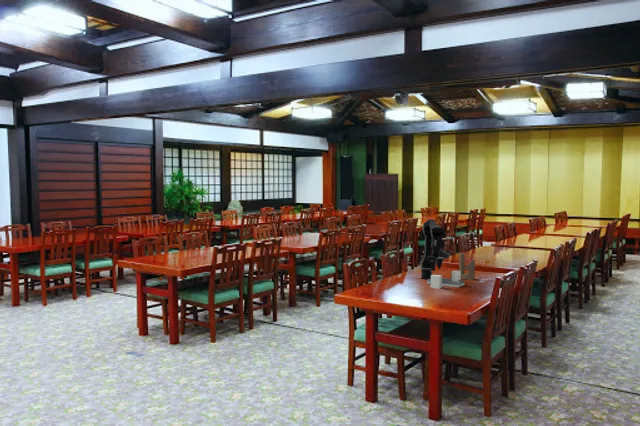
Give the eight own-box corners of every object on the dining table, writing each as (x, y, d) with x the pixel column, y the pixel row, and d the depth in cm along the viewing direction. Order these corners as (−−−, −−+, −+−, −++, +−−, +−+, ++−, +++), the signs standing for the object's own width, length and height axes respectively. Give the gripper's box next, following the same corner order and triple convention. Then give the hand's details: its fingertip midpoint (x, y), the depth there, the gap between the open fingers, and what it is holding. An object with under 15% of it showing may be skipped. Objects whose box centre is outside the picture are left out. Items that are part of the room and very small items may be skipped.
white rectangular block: (430, 287, 340) (430, 275, 340) (433, 286, 344) (433, 274, 344) (439, 288, 337) (439, 276, 336) (442, 287, 341) (442, 275, 340)
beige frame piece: (472, 280, 365) (473, 254, 364) (458, 278, 371) (458, 253, 370) (474, 279, 368) (475, 254, 367) (460, 277, 374) (460, 252, 373)
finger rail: (427, 283, 353) (427, 269, 353) (433, 281, 362) (433, 267, 361) (459, 287, 341) (459, 272, 340) (464, 284, 349) (464, 270, 348)
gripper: (443, 248, 327) (442, 273, 328) (454, 245, 342) (453, 269, 343) (426, 247, 333) (426, 271, 334) (437, 244, 348) (437, 267, 349)
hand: (436, 270), depth 340 cm, fingers open, 9 cm apart
